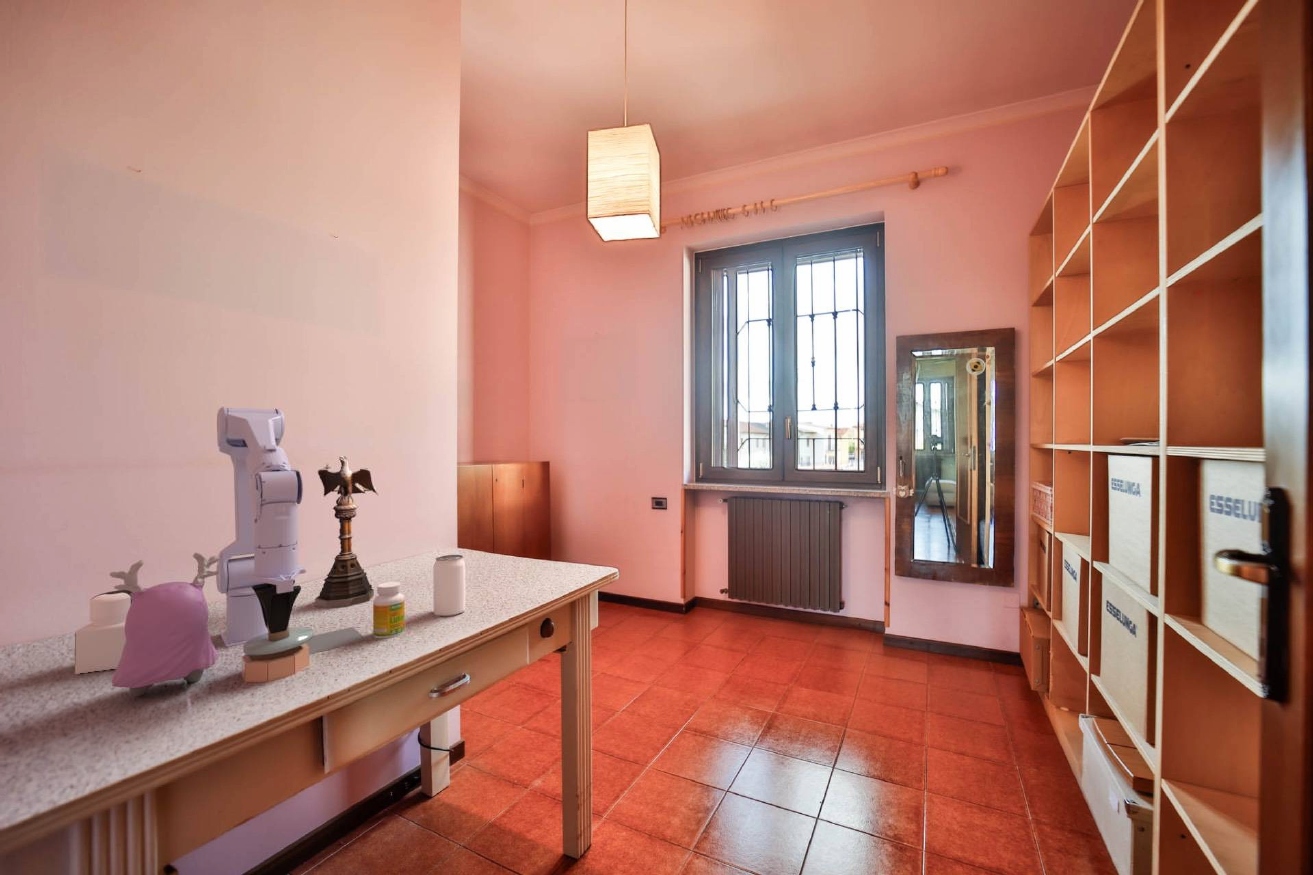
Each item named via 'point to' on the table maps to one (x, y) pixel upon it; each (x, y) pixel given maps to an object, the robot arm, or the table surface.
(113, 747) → the table surface
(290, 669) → the bowl
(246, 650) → the lid
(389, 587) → the supplement bottle
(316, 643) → the mat
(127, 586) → the toy character
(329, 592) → the bird statue
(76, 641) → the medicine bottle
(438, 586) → the can
